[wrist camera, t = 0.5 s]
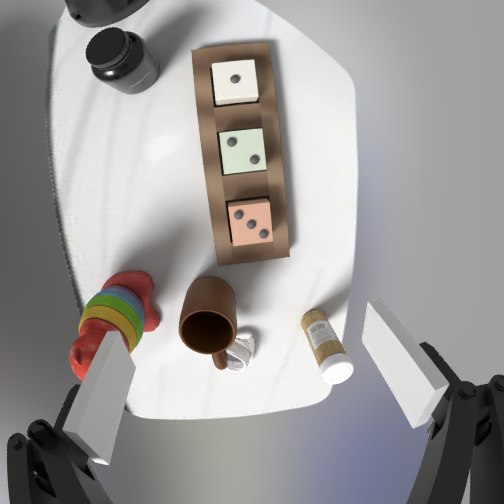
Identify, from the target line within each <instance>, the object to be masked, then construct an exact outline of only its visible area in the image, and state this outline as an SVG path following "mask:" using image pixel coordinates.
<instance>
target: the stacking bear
mask: <svg viewBox="0 0 504 504" xmlns="http://www.w3.org/2000/svg"><path fill="white" fill-rule="evenodd" d="M152 290H153V283H152V278H151V277H150V276H148V275H147V274H146V273H145V272H142V271H128V272H123V273H120V274H117V275H115V276H113V277H112V278H110V279H109V280H108V281H107V282H106V283H105V284H104V285H103V287H102V290H101V291H100V292H99V293H97V294H96V295H95V296H94V297H93V298H92V299H91V300H90V301H89V302H88V304H87V305H86V307H85V309H84V311H83V314H82V318H81V321H80V325H79V335H80V337H79V338H78V339H77V340H76V341H75V342H74V343H73V345H72V347H71V350H70V364H71V367H72V369H73V371H74V373H75V374H76V375H77V376H78V377H79V378H80V379H82V380H84V377H85V375H86V373H87V371H88V369H89V367H90V365H91V363H92V360H93V358H94V356H95V354H96V352H97V350H98V348H99V346H100V344H101V342H102V340H103V339H104V337H105V335H106V333H107V331H120V334H121V336H122V339H123V341H124V343H125V345H126V348H127V350H128V352H129V354H130V353H131V352H132V351H133V350H134V349H135V347H136V346H137V345H138V343H139V341H140V340H141V337H142V334H143V332H150V331H154V330H155V329H156V328H157V327H158V326H159V316H158V314H157V313H156V312H155V310H154V309H153V308H152V306H151V303H150V294H151V292H152Z"/></svg>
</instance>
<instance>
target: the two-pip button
mask: <svg viewBox="0 0 504 504" xmlns="http://www.w3.org/2000/svg"><path fill="white" fill-rule="evenodd" d="M219 135H220V144H221V152H222V160H223V169H224V174H231V173H239V172H248V171H257V170H266V160H265V150H264V141H263V131H262V128H261V129H250V130H240V131H231V132H223V133H219Z"/></svg>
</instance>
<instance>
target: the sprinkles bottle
mask: <svg viewBox="0 0 504 504" xmlns="http://www.w3.org/2000/svg"><path fill="white" fill-rule="evenodd" d="M301 326H302V328H303V330H304V332H305V334H306V338H307V340H308V342H309V345H310V347H311V349H312V351H313V353H314V356H315V358H316V360H317V363H318V365H319V369H320V374H321V376H322V378H323V380H324V381H325V382H326V383H328V384H338V383H341V382H343V381H345V380H346V379H347V378H349V377H350V376H351V374H352V373H353V370H354V366H353V363H352V361H351V359H350V357H349V356H348V355H347V354H346V353H345V351H344V349H343V347H342V345H341V343H340V341H339V339H338V337H337V335H336V334H335V332H334V330H333V328H332V326H331V325H330V323H329V322H328V320H327V318H326V315H325V314H324V312H322V311H320V310H313V311H310V312H308V313H307V314H305V315H304V316H303V318H302V320H301Z"/></svg>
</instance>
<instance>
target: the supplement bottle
mask: <svg viewBox="0 0 504 504" xmlns="http://www.w3.org/2000/svg"><path fill="white" fill-rule="evenodd" d="M86 58H87V60H88V62H89V63H90V64H91V69H92V72H93V74H94V75H95V77H96V78H98V79H99V80H100V81H102V82H104V83H106V84H108V85H110V86H111V87H113V88H115V89H117V90H119V91H121V92H123V93H125V94H137V93H140V92H143V91H145V90H146V89H148V88H149V87H150V86H151V85H152V84H153V83H154V82H155V80H156V78H157V76H158V73H159V63H158V60H157V58H156V57H155V55H154V54H153V53H152V51H151V50H150V49H149V47H148V46H147V44H146V43H145V42H144V40H143V39H142V38H141V37H140V36H139V35H137V34H136V33H133V32H128V31H123V30H121V29H119V28H114V27H112V28H107V29H105V30H102V31H101V32H99V33H97V34H96V35H95V36H94V37H93V38H92V39H91V41H90V42H89V44H88V45H87V49H86Z"/></svg>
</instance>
